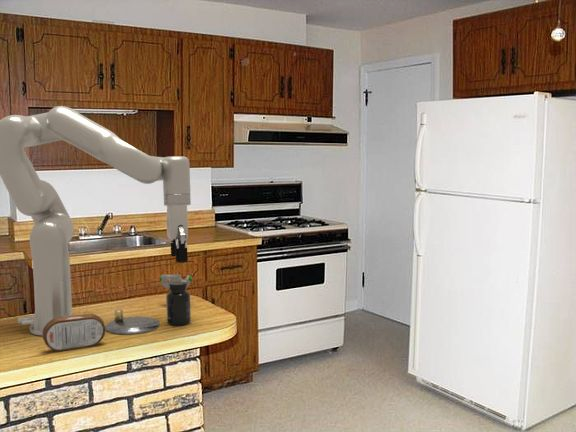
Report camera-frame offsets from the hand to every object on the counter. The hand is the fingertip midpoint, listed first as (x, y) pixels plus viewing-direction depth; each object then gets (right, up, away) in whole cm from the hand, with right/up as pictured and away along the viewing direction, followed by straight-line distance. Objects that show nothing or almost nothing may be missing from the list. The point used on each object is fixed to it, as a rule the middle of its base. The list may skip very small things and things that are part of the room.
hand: (179, 258), depth 167 cm
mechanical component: (-5, -17, +21) cm, 27 cm away
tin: (-23, -22, -19) cm, 37 cm away
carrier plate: (-13, -19, -1) cm, 23 cm away
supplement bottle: (-1, -19, +2) cm, 19 cm away
